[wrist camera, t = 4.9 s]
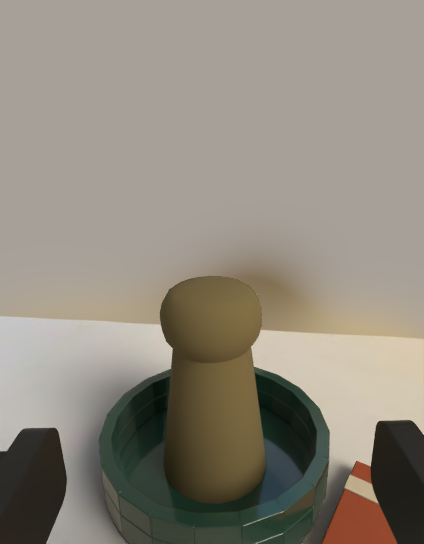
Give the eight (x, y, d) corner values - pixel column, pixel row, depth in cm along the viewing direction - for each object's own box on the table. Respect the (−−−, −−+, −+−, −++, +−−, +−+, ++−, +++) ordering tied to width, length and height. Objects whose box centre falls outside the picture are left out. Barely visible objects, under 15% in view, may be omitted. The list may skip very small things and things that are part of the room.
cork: (235, 524, 19) (234, 319, 15) (141, 473, 22) (122, 292, 18) (282, 444, 24) (289, 275, 20) (200, 412, 27) (194, 260, 23)
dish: (57, 489, 21) (49, 445, 20) (194, 378, 31) (193, 345, 30) (259, 647, 14) (260, 593, 14) (353, 441, 24) (358, 401, 23)
